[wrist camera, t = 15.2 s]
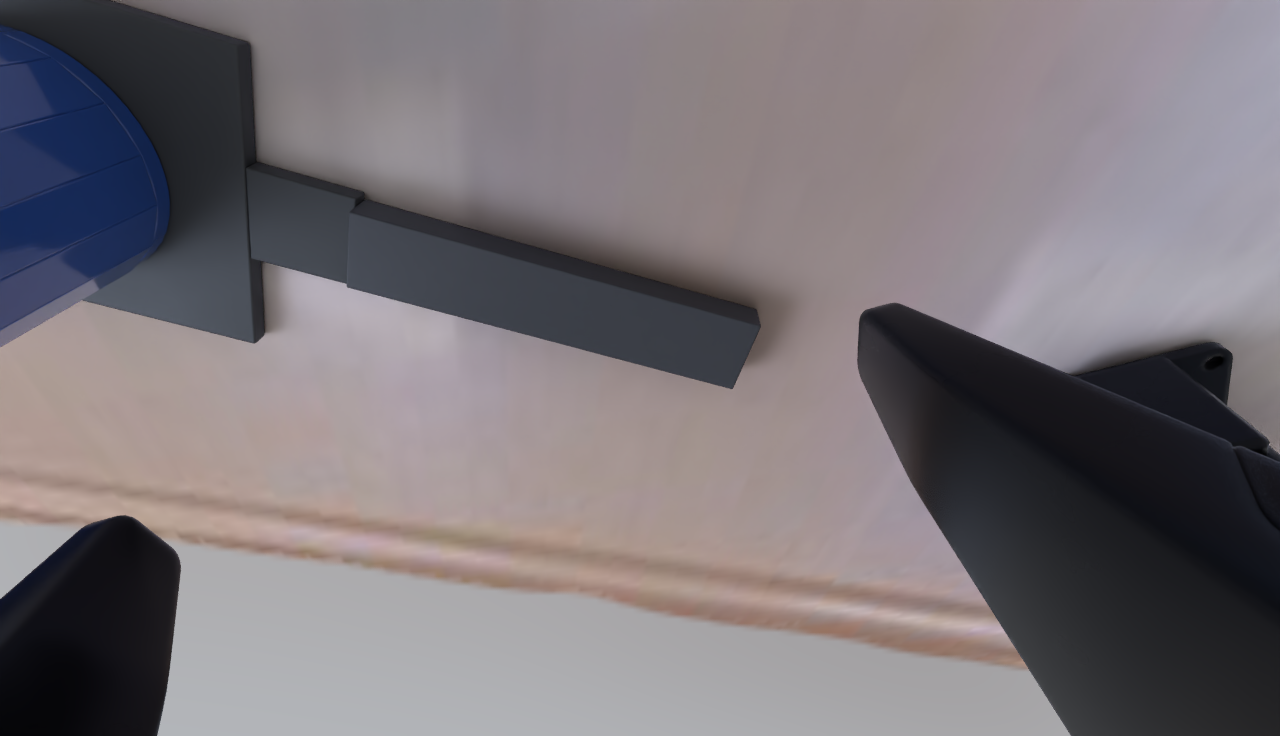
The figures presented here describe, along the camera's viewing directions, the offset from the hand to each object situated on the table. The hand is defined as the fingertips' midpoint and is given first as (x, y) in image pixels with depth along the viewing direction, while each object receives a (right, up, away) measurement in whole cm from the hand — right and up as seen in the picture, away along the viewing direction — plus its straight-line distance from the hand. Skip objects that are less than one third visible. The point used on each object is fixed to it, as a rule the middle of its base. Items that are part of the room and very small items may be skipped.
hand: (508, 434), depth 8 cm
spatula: (-8, +5, +11) cm, 14 cm away
